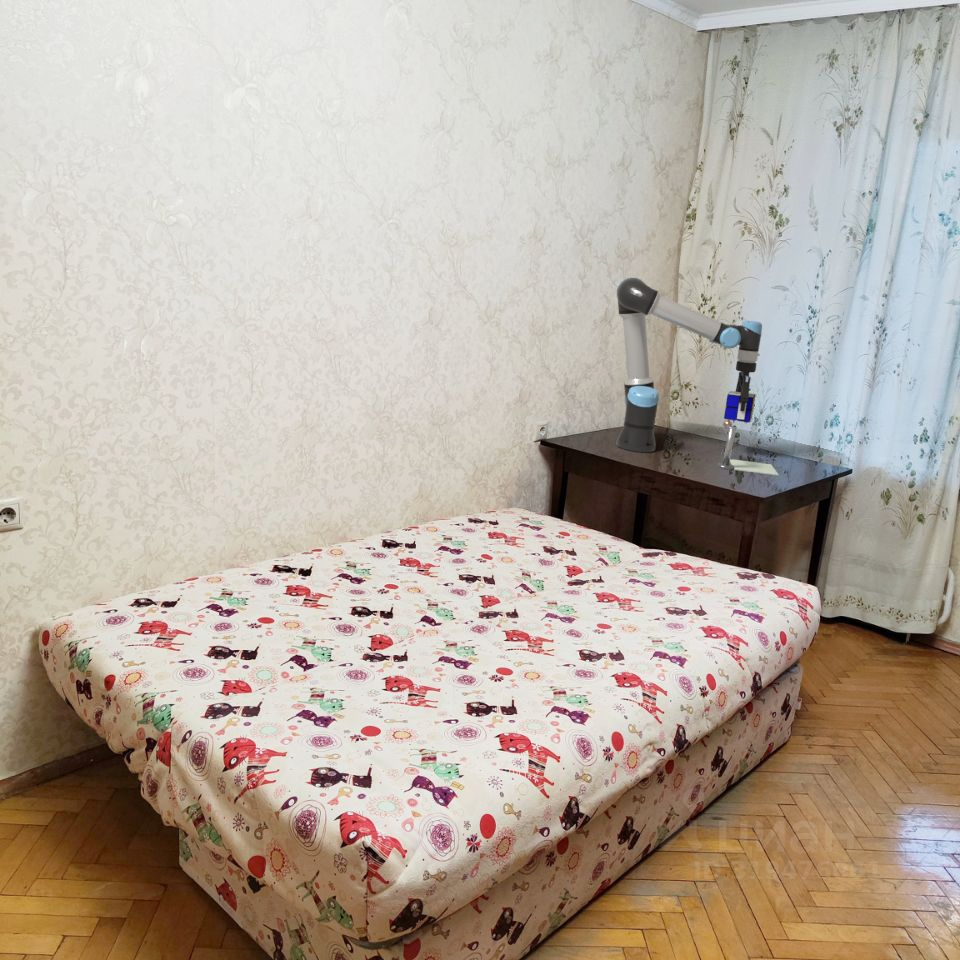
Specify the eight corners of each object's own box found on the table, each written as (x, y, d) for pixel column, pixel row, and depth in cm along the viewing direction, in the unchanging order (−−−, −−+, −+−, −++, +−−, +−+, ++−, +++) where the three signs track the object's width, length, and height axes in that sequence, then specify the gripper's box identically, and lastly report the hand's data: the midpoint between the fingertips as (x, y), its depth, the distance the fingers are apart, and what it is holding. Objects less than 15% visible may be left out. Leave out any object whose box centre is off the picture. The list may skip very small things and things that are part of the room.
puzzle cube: (723, 419, 351) (727, 394, 349) (726, 415, 360) (730, 390, 358) (749, 422, 348) (753, 397, 345) (752, 418, 357) (755, 394, 355)
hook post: (718, 468, 329) (725, 427, 325) (713, 457, 346) (720, 418, 342) (734, 470, 329) (742, 429, 324) (728, 459, 345) (735, 420, 341)
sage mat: (734, 469, 330) (734, 468, 330) (728, 459, 345) (729, 458, 345) (778, 475, 328) (778, 474, 328) (771, 465, 343) (771, 464, 343)
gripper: (761, 366, 337) (752, 422, 342) (752, 358, 359) (743, 411, 365) (741, 364, 337) (732, 420, 343) (733, 356, 360) (725, 410, 366)
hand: (738, 416), depth 354 cm, fingers closed on puzzle cube, 11 cm apart
